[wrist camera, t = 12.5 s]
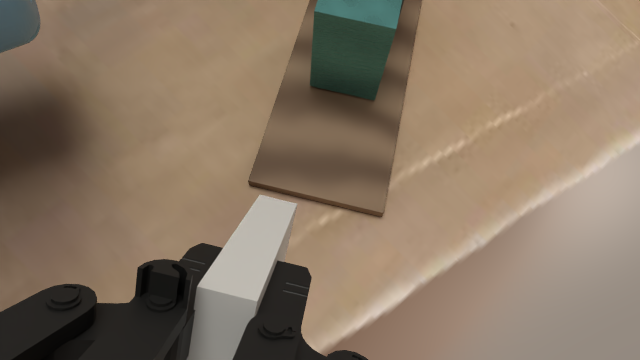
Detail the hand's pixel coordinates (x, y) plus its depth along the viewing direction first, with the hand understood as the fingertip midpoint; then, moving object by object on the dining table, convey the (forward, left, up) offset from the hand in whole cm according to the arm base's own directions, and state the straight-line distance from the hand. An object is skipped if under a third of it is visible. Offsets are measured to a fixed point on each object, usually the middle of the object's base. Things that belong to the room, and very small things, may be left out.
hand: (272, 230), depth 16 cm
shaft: (+25, +21, -20) cm, 38 cm away
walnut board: (+21, +17, -21) cm, 34 cm away
